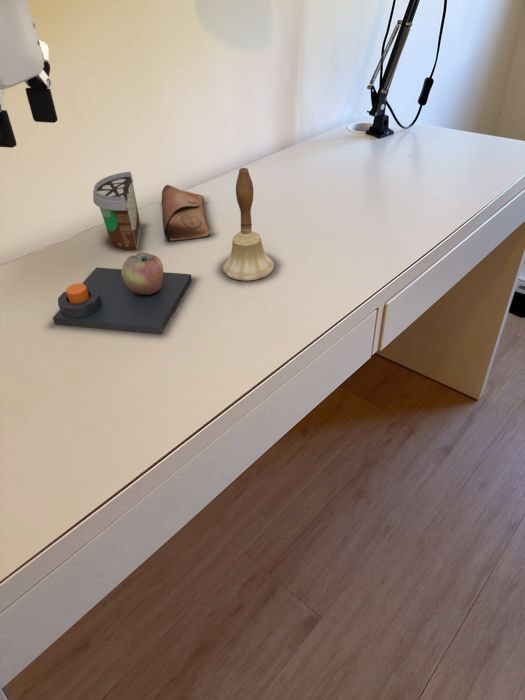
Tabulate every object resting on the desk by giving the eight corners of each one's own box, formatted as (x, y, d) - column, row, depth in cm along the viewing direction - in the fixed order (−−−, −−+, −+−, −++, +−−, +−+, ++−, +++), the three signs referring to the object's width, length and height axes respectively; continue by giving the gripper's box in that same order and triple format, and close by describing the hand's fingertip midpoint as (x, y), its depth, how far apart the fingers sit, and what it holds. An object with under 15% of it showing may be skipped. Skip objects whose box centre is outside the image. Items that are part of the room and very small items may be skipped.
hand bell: (243, 250, 89) (236, 155, 79) (284, 263, 85) (282, 165, 75) (212, 272, 84) (200, 173, 74) (254, 286, 80) (247, 185, 70)
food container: (108, 225, 99) (95, 173, 93) (141, 222, 100) (130, 170, 93) (100, 257, 90) (85, 201, 83) (136, 254, 90) (124, 198, 84)
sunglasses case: (213, 233, 94) (190, 205, 90) (182, 256, 95) (157, 229, 91) (203, 194, 107) (183, 168, 103) (176, 214, 109) (155, 190, 105)
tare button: (65, 303, 74) (62, 293, 73) (74, 292, 76) (71, 282, 75) (83, 305, 74) (80, 294, 73) (92, 294, 76) (89, 284, 75)
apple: (121, 307, 75) (111, 272, 72) (130, 278, 81) (122, 244, 78) (163, 305, 75) (155, 269, 71) (169, 276, 81) (163, 242, 78)
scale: (55, 324, 75) (48, 307, 73) (97, 273, 85) (93, 257, 84) (161, 334, 72) (157, 316, 70) (191, 280, 83) (189, 263, 81)
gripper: (-7, -43, 62) (35, 112, 73) (-115, -31, 49) (-45, 155, 60) (52, -42, 61) (85, 114, 71) (-43, -31, 48) (15, 159, 58)
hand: (26, 133), depth 66 cm, fingers open, 9 cm apart
